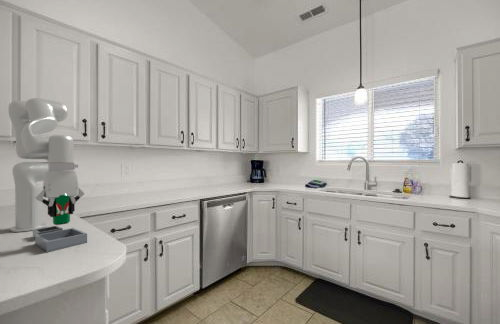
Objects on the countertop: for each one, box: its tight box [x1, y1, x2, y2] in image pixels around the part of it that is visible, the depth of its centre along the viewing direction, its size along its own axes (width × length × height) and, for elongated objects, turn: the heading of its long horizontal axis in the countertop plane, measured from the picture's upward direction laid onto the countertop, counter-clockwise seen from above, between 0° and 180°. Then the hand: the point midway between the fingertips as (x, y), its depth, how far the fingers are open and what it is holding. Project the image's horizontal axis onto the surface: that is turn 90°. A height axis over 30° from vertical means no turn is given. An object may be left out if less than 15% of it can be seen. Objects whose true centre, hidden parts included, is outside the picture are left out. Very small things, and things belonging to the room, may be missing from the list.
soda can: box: [52, 194, 71, 226], centre depth 88 cm, size 5×5×12 cm
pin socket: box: [32, 225, 64, 239], centre depth 97 cm, size 8×8×3 cm
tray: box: [34, 227, 88, 253], centre depth 88 cm, size 14×12×4 cm
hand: (61, 214), depth 88 cm, fingers closed on soda can, 5 cm apart
